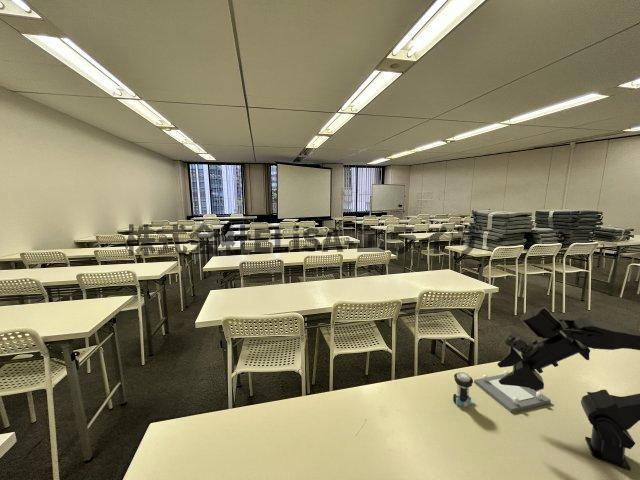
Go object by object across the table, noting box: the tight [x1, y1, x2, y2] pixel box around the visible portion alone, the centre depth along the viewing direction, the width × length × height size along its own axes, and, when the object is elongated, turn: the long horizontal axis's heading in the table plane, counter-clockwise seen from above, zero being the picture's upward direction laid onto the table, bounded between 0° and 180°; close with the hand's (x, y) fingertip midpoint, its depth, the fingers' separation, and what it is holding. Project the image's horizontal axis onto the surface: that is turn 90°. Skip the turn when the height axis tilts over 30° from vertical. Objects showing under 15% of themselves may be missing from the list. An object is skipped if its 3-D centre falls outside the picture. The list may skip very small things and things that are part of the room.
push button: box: [452, 371, 475, 408], centre depth 82 cm, size 7×5×10 cm
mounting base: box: [473, 369, 552, 413], centre depth 87 cm, size 14×16×3 cm
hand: (499, 373), depth 76 cm, fingers open, 9 cm apart
